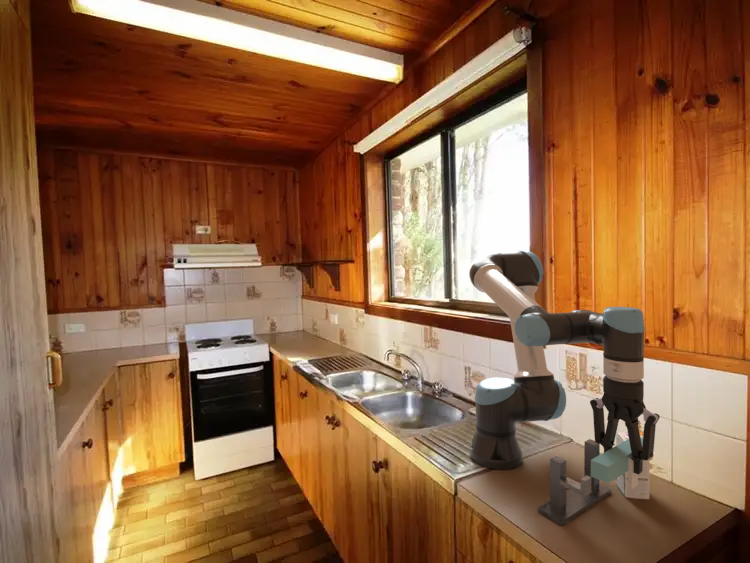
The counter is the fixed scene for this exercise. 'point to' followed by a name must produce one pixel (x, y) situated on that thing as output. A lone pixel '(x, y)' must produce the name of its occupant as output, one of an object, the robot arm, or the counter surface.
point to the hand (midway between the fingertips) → (622, 481)
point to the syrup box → (643, 478)
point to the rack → (572, 488)
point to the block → (612, 462)
